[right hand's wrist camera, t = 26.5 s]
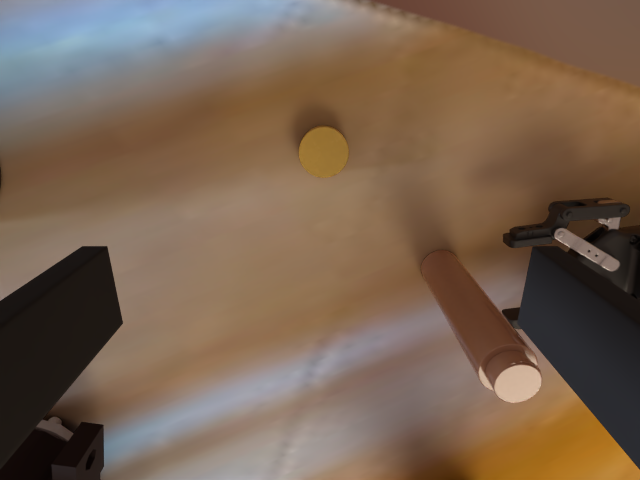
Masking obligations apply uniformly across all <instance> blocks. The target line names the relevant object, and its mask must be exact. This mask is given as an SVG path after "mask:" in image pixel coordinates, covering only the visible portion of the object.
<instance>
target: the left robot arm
mask: <svg viewBox="0 0 640 480" xmlns="http://www.w3.org/2000/svg"><path fill="white" fill-rule="evenodd" d="M548 210H549V212H550V213H549V216H548V218H547V219H546V221H544V222H543V223H540V224H533V225H526V226H518V227H514V228H512V229H510V231H509V233H505V234H503V242H504V243H505V244H506V245H508V246H509V247H511V248H519V247H527V246H535V245H542V244H550V243H552V240H554V239H557V240H558V241H560V242H562V243H563V244H565V245H567V246H568V247H570V250H569V251H568V252H567V253H568V254H570V255H571V256H573V257H574V258H576V259H577V260H579V261H580V262H582V263H583V264H585V265H586V266H588V267H589V268H591V269H592V270H594V271H595V272H597V273H598V274H600V275H601V276H603V277H604V278H606V279H607V280H609V281H610V282H612V283H613V284H615V285H616V286H618V287H619V288H621V289H622V290H624V291H625V292H627V293H628V294H630V295H631V296H633V297H635V298H636V299H638V300H639V301H640V225H638V226H630V227H622V228H619V225H620V219H621V217H625V216H626V215H628V213H629V212H630V207H629V206H628V205H626V204H624V203H621V202H619V201H616V200H613V199H610V198H596V199H583V200H569V201H556V202H552V203H551V204H550V205H549V207H548ZM591 219H593V220H595V221H597V222H599V223H601V224H602V226H601V227H599V228H597V229H596V230H594V231H593V232H592V233H590V234H589V235H588V236H586V237H585V238H584V239H582V238H580V237H578V236H577V235H575V234H573V233H572V232H570V231H568V230H567V229H566V228H567V226H568V223H569V221H577V220H591ZM519 312H520V307H519V308H511V309H504V310H502V314H503V315H504V316H505V318H506V319H507V320H508V321H509V323H510V324H511V325H512V326H513V328H515V329H521V327H520V326H519V325H518V324H517V321H518V316H519Z"/></svg>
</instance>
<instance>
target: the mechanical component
mask: <svg viewBox="0 0 640 480" xmlns="http://www.w3.org/2000/svg"><path fill="white" fill-rule="evenodd" d="M61 424H62V421H61V419H59V418H58V417H52V418H50V419H49V420H48V421H46V420H41V422H40V423H39V424H38V425H37V426H36V427H35V429H34V430H33V431H32V432H31V433H30V435H29V436H28V437H27V438H26V439H25V441H24V442H23V443H22V444H21V445H20V447H19V448H18V449H17V450H16V451H15V453H14V454H13V455H12V456H11V457H10V458H9V460H8V461H7V462H6V463H5V464H4V466H3V467H2V468H1V469H0V480H100V472H101V470H102V469H103V467H104V434H103V425H100V424H93V423H86V422H81V424H80V425H79V427H78V428H77V429H76V431H75V432H74V434H73V433H72V432H70V431H69V430H68V429H66V428H65V427H63V426H62V425H61Z"/></svg>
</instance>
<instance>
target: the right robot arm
mask: <svg viewBox="0 0 640 480" xmlns="http://www.w3.org/2000/svg"><path fill="white" fill-rule="evenodd" d="M0 186H1V169H0ZM122 324H123V321H122V316H121V312H120V307H119V302H118V297H117V292H116V287H115V282H114V277H113V272H112V267H111V263H110V258H109V253H108V248H107V246H82V247H81V248H79V249H78V250H76V251H75V252H73V253H72V254H70V255H69V256H67V257H66V258H64V259H63V260H61V261H60V262H58V263H57V264H55V265H54V266H52V267H51V268H49V269H48V270H46V271H45V272H43V273H42V274H40V275H39V276H37V277H36V278H34V279H33V280H31V281H30V282H28V283H27V284H25V285H24V286H22V287H21V288H19V289H18V290H16V291H15V292H13V293H12V294H10V295H9V296H7V297H5V298H4V299H2V300H1V301H0V469H1V468H2V467H3V466H4V464H5V463H6V462H7V461H8V460H9V458H10V457H11V456H12V455H13V454H14V453H15V451H16V450H17V449H18V448H19V447H20V445H21V444H22V443H23V442H24V441H25V439H26V438H27V437H28V436H29V435H30V433H31V432H32V431H33V430H34V429H35V427H36V426H37V425H38V424H39V423H40V422H41V420H42V419H43V418H44V417H45V416H46V414H47V413H48V412H49V411H50V410H51V408H52V407H53V406H54V405H55V404H56V402H57V401H58V400H59V399H60V398H61V397H62V395H63V394H64V393H65V392H66V391H67V389H68V388H69V387H70V386H71V385H72V383H73V382H74V381H75V380H76V379H77V377H78V376H79V375H80V374H81V373H82V371H83V370H84V369H85V368H86V367H87V366H88V364H89V363H90V362H91V361H92V360H93V358H94V357H95V356H96V355H97V354H98V352H99V351H100V350H101V349H102V348H103V346H104V345H105V344H106V343H107V342H108V340H109V339H110V338H111V337H112V336H113V335H114V333H115V332H116V331H117V330H118V329H119V327H120V326H121V325H122ZM517 324H518V325H519V326H520V327H521V329H522V330H523V331H524V332H525V333H526V335H527V336H528V337H529V338H530V339H531V340H532V342H533V343H534V344H535V345H536V346H537V348H538V349H539V350H540V351H541V352H542V354H543V355H544V356H545V357H546V358H547V360H548V361H549V362H550V363H551V364H552V366H553V367H554V368H555V369H556V370H557V371H558V373H559V374H560V375H561V376H562V377H563V379H564V380H565V381H566V382H567V383H568V385H569V386H570V387H571V388H572V389H573V391H574V392H575V393H576V394H577V395H578V397H579V398H580V399H581V400H582V401H583V402H584V404H585V405H586V406H587V407H588V408H589V410H590V411H591V412H592V413H593V414H594V416H595V417H596V418H597V419H598V420H599V422H600V423H601V424H602V425H603V426H604V427H605V429H606V430H607V431H608V432H609V433H610V435H611V436H612V437H613V438H614V439H615V441H616V442H617V443H618V444H619V445H620V447H621V448H622V449H623V450H624V451H625V453H626V454H627V455H628V456H629V457H630V458H631V460H632V461H633V462H634V463H635V464H636V466H637V467H638V468H639V469H640V301H639V300H638V299H636V298H635V297H633V296H631V295H630V294H628V293H627V292H625V291H624V290H622V289H621V288H619V287H618V286H616V285H615V284H613V283H612V282H610V281H609V280H607V279H606V278H604V277H603V276H601V275H600V274H598V273H597V272H595V271H594V270H592V269H591V268H589V267H588V266H586V265H585V264H583V263H582V262H580V261H579V260H577V259H576V258H574V257H573V256H571V255H570V254H568V253H567V252H565V251H564V250H562V249H561V248H559V247H558V246H533V248H532V253H531V258H530V263H529V267H528V272H527V277H526V282H525V287H524V292H523V297H522V302H521V307H520V312H519V316H518V321H517Z"/></svg>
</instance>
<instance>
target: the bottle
mask: <svg viewBox="0 0 640 480" xmlns="http://www.w3.org/2000/svg"><path fill="white" fill-rule="evenodd" d="M421 273H422V276H423V278H424V279H425V281H426V283H427V285H428V287H429V289H430V290H431V292H432V294H433V296H434V298H435V300H436V301H437V303H438V305H439V307H440V309H441V311H442V312H443V314H444V316H445V318H446V320H447V321H448V323H449V325H450V327H451V329H452V331H453V332H454V334H455V336H456V338H457V340H458V342H459V343H460V345H461V347H462V349H463V351H464V353H465V354H466V356H467V358H468V360H469V362H470V364H471V365H472V367H473V369H474V371H475V373H476V375H477V376H478V378H479V380H480V382H481V383H482V384H483V385H484V386H485V387H486V388H488V389H490V390H492V391H494V392H495V394H496V395H497V396H498V397H499V398H500V399H501V400H503V401H506V402H511V403H517V402H522V401H525V400H528V399H529V398H531V397H533V396H534V395H535V394H536V393H537V392H538V391H539V389H540V387H541V384H542V376H541V373H540V369H539V368H538V362H537V357H536V355H535V354H534V352H533V351H532V350H531V349H530V347H529V346H528V345H527V344H526V342H525V341H524V340H523V339H522V337H521V336H520V335H519V334H518V332H517V331H516V330H515V329H514V328H513V326H512V325H511V324H510V323H509V321H508V320H507V319H506V318H505V316H504V315H503V314H502V313H501V311H500V310H499V309H498V308H497V307H496V305H495V304H494V303H493V302H492V300H491V299H490V298H489V297H488V295H487V294H486V293H485V292H484V290H483V289H482V288H481V287H480V286H479V284H478V283H477V282H476V281H475V279H474V278H473V277H472V276H471V274H470V273H469V272H468V271H467V269H466V268H465V267H464V266H463V265H462V263H461V262H460V261H459V260H458V258H457V257H456V256H455V255H454V254H453V253H451V252H449V251H446V250H438V251H434V252H432V253H430V254H429V255H428V256H427V257H426V258H425V259H424V260H423V262H422V265H421Z"/></svg>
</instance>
